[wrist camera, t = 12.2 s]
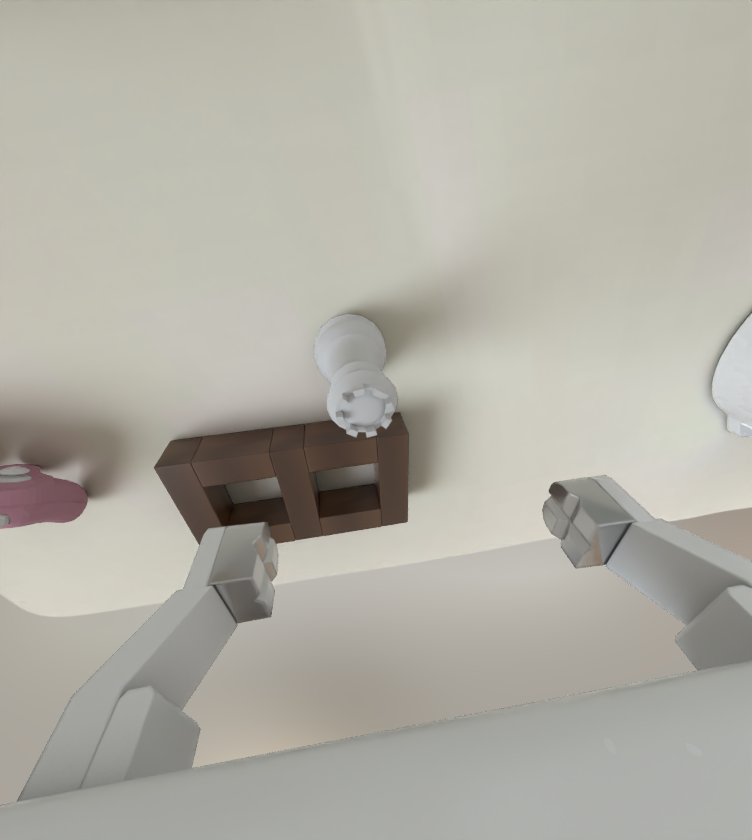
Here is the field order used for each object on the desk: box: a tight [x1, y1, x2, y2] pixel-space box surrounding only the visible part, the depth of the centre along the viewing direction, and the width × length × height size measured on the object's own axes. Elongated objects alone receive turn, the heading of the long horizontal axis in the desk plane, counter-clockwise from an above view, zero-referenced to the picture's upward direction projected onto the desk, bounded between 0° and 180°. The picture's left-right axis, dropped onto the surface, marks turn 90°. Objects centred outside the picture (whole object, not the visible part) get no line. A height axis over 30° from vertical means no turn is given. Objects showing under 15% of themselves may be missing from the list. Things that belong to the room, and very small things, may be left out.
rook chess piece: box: [314, 314, 398, 438], centre depth 17 cm, size 4×4×8 cm
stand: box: [154, 412, 409, 545], centre depth 24 cm, size 16×9×3 cm, turn 93°
